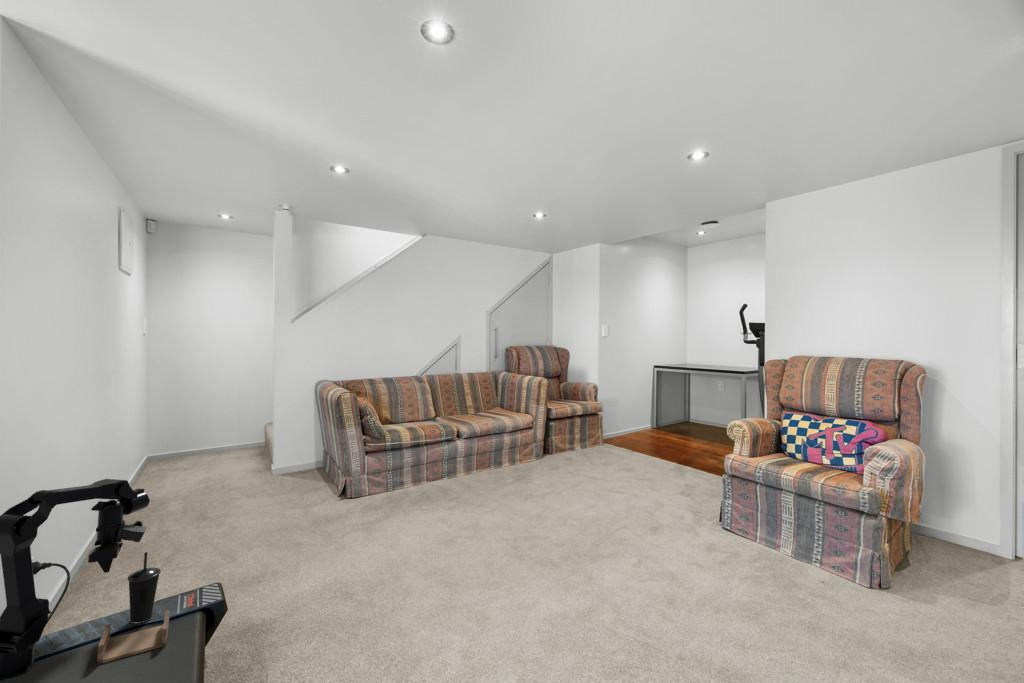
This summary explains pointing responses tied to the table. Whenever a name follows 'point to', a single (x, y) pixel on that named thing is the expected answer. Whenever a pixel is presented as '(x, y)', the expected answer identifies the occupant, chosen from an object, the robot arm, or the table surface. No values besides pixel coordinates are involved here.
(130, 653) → the cup rest
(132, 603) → the drinking cup
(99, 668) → the table surface
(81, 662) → the table surface
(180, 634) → the table surface
